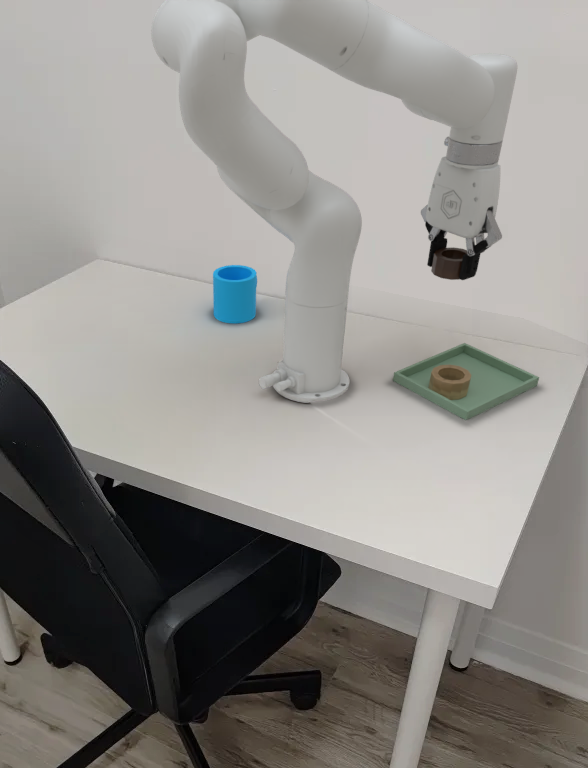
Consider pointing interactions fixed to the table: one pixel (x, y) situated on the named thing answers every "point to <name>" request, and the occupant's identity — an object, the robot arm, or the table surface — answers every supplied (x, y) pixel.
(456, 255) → the walnut ring
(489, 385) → the tray
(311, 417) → the table surface
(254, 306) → the mug
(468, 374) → the birch ring
